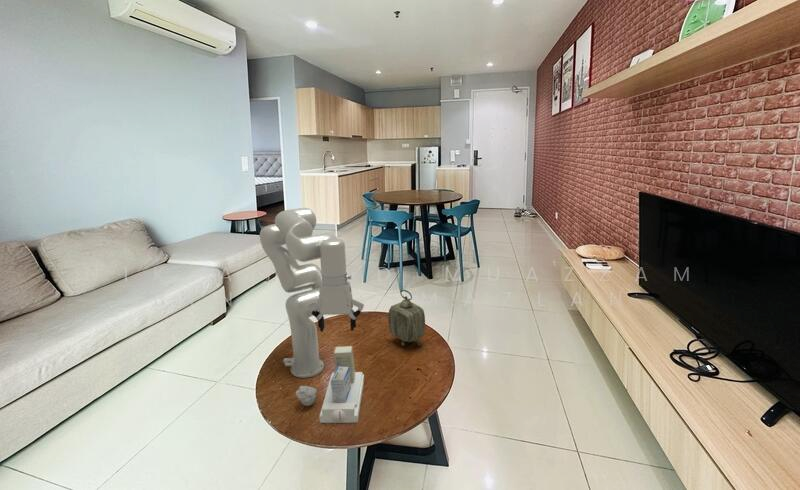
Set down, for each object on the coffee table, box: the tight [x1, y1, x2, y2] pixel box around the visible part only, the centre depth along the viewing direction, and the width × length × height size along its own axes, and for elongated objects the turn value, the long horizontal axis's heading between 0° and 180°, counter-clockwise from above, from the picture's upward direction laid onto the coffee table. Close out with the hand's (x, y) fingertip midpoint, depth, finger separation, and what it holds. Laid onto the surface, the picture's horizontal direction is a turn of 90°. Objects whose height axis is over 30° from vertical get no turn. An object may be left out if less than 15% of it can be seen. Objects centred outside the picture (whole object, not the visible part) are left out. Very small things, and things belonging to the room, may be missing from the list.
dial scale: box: [319, 371, 365, 424], centre depth 131 cm, size 12×22×5 cm, turn 0°
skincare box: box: [333, 345, 356, 383], centre depth 136 cm, size 6×4×12 cm
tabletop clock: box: [388, 289, 426, 347], centre depth 164 cm, size 14×9×25 cm, turn 42°
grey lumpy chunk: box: [295, 385, 318, 407], centre depth 129 cm, size 6×7×7 cm
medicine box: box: [331, 367, 351, 403], centre depth 127 cm, size 8×4×9 cm, turn 174°
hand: (337, 329), depth 122 cm, fingers open, 9 cm apart
